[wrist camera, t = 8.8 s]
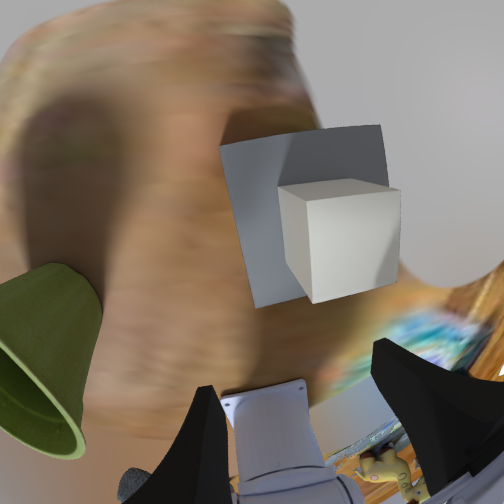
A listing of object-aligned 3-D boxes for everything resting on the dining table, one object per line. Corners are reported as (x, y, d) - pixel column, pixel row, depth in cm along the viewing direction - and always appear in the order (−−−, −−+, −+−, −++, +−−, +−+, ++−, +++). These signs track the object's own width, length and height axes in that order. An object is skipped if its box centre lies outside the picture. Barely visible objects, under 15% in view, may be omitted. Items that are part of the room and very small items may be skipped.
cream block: (353, 248, 17) (396, 282, 12) (285, 261, 16) (312, 303, 12) (350, 178, 15) (400, 190, 10) (277, 186, 15) (306, 201, 10)
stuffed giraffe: (423, 432, 34) (456, 490, 19) (341, 478, 36) (361, 539, 21) (407, 403, 29) (455, 483, 14) (302, 461, 32) (321, 545, 17)
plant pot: (1, 286, 17) (-69, 351, 6) (59, 200, 16) (-57, 250, 5) (82, 376, 21) (44, 466, 10) (160, 321, 19) (127, 447, 9)
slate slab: (372, 256, 20) (392, 270, 18) (250, 287, 20) (255, 308, 17) (358, 128, 17) (380, 124, 14) (218, 149, 17) (218, 146, 14)
